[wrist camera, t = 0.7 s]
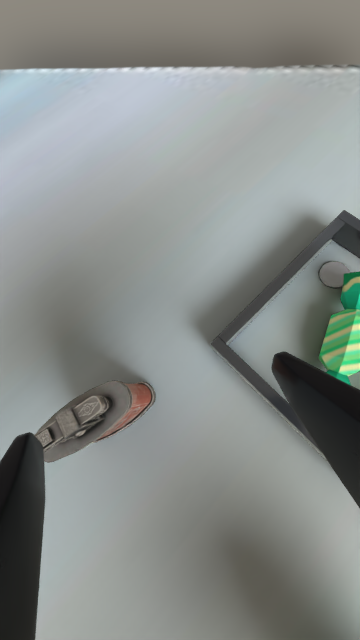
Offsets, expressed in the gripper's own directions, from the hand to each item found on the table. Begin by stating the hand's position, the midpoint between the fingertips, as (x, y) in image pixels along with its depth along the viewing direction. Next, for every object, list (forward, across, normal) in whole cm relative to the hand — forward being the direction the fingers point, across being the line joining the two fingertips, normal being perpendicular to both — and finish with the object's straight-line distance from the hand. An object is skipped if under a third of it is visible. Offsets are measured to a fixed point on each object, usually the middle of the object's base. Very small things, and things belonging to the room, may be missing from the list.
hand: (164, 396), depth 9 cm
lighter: (+10, +4, +15) cm, 19 cm away
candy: (+7, -17, +10) cm, 21 cm away
